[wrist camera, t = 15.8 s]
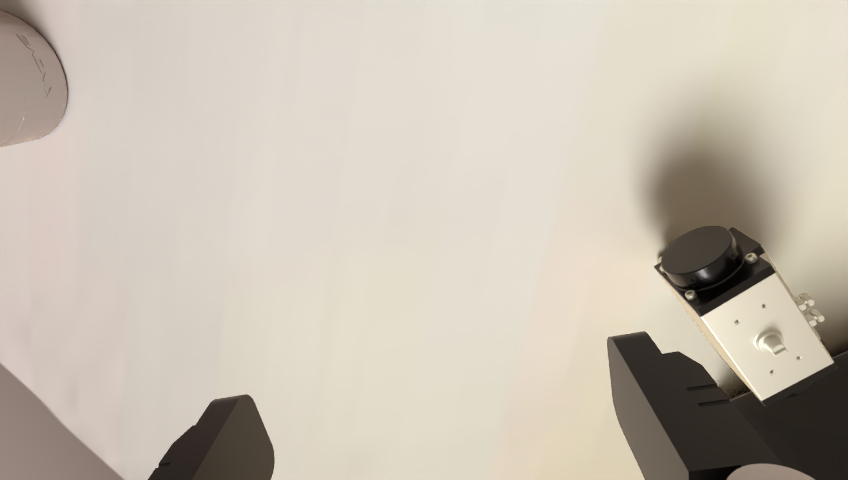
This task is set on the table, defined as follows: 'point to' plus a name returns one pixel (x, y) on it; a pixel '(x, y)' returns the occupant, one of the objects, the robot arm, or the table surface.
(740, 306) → the pneumatic valve
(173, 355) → the table surface
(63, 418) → the table surface
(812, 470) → the voltmeter
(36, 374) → the table surface
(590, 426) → the table surface
